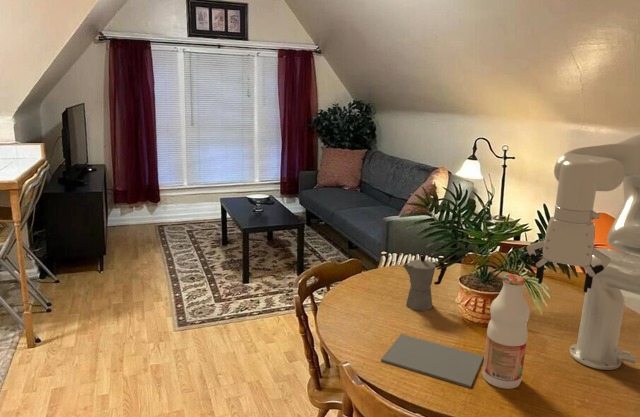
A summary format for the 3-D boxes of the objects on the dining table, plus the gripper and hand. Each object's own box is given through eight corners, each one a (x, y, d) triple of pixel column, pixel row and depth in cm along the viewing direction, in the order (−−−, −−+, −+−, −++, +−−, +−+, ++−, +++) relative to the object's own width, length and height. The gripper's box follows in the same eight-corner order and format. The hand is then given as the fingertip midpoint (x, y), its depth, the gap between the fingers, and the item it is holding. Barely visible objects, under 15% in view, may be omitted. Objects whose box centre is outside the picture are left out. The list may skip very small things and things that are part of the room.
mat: (483, 357, 135) (483, 356, 134) (470, 387, 121) (470, 385, 121) (401, 335, 146) (401, 333, 146) (380, 360, 132) (381, 358, 132)
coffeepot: (405, 312, 161) (408, 261, 156) (396, 300, 170) (399, 251, 165) (449, 310, 163) (453, 259, 159) (438, 298, 172) (442, 250, 168)
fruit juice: (475, 370, 129) (486, 271, 122) (507, 367, 130) (520, 269, 123) (494, 391, 120) (507, 286, 113) (528, 388, 121) (543, 283, 115)
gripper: (617, 216, 108) (605, 288, 112) (533, 206, 116) (524, 273, 120) (618, 224, 102) (605, 300, 106) (529, 213, 110) (520, 283, 114)
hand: (562, 286), depth 113 cm, fingers open, 9 cm apart
